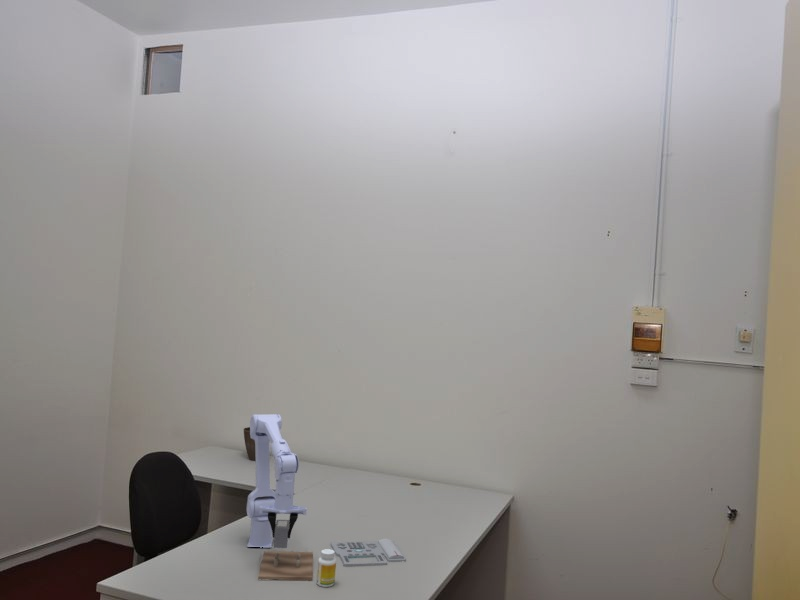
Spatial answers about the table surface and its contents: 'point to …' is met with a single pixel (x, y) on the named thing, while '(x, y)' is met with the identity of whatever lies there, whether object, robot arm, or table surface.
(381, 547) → the office telephone
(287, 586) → the table surface
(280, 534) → the block
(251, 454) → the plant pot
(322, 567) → the supplement bottle
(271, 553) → the pin tray
